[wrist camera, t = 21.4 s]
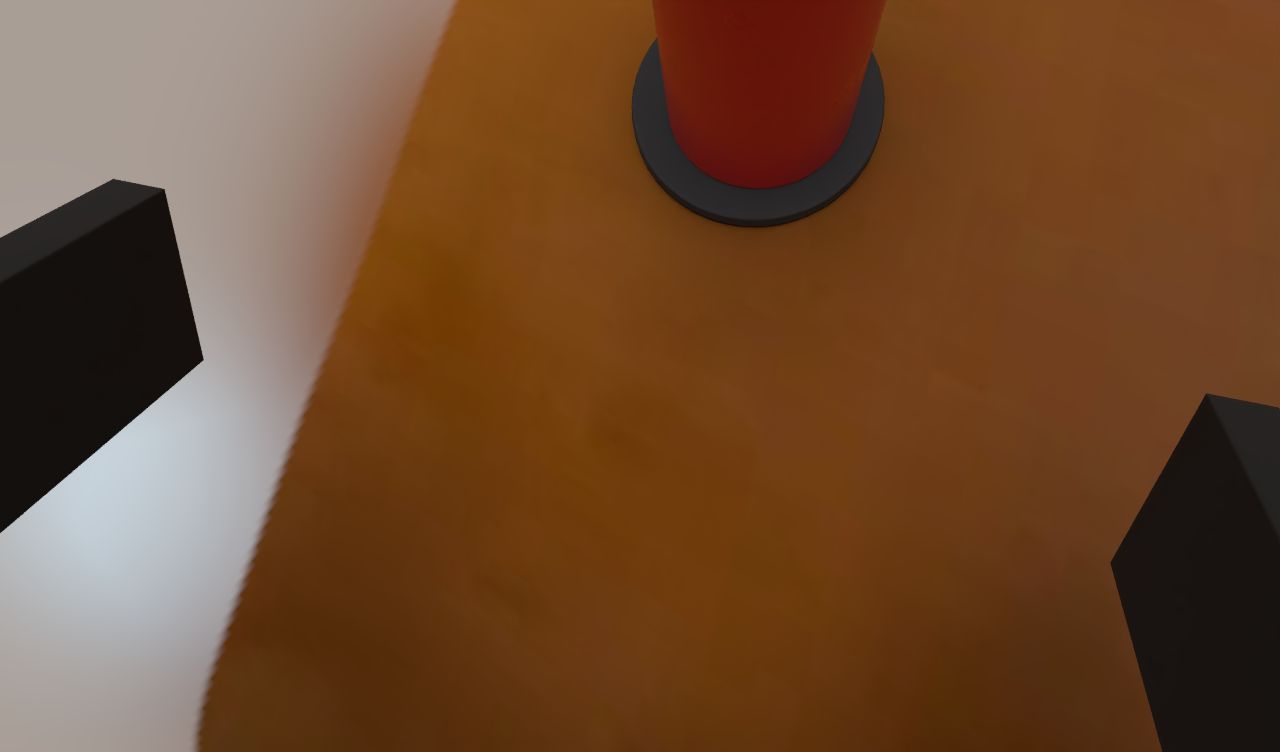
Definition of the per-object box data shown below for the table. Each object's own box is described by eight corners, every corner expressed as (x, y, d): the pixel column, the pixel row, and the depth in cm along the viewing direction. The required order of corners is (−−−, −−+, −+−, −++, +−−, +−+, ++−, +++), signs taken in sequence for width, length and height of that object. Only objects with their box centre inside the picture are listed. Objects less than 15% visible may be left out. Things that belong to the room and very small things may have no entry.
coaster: (781, 275, 21) (782, 269, 20) (584, 136, 22) (581, 127, 22) (931, 83, 22) (936, 72, 21) (732, -43, 23) (732, -56, 22)
